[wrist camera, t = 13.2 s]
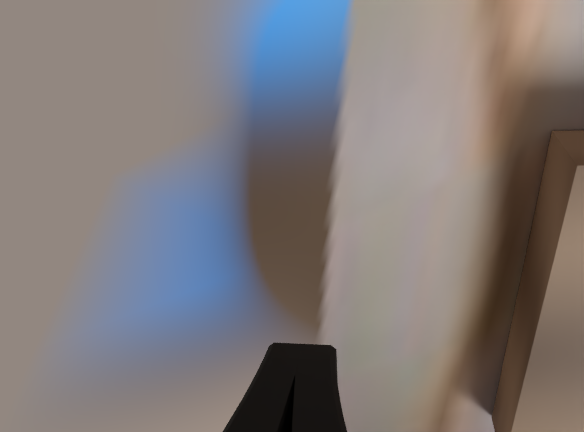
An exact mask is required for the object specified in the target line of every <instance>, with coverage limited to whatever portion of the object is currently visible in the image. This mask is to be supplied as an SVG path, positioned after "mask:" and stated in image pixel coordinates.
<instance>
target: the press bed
mask: <svg viewBox="0 0 584 432" xmlns="http://www.w3.org/2000/svg"><path fill="white" fill-rule="evenodd" d="M492 421H493V425H494V429H495V432H584V130H575V131H552V133H551V138H550V143H549V147H548V152H547V157H546V162H545V166H544V171H543V176H542V181H541V185H540V190H539V195H538V200H537V204H536V209H535V214H534V219H533V223H532V228H531V233H530V238H529V242H528V247H527V252H526V257H525V261H524V266H523V271H522V276H521V281H520V285H519V290H518V295H517V300H516V304H515V309H514V314H513V319H512V323H511V328H510V333H509V338H508V342H507V347H506V352H505V357H504V361H503V366H502V371H501V376H500V380H499V385H498V390H497V395H496V399H495V404H494V409H493V414H492Z"/></svg>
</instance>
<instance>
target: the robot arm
mask: <svg viewBox="0 0 584 432" xmlns="http://www.w3.org/2000/svg"><path fill="white" fill-rule="evenodd" d="M223 432H347V430H346V426H345V422H344V417H343V413H342V408H341V403H340V397H339V391H338V383H337V356H336V349H335V348H334V347H332V346H331V345H314V344H290V343H273V344H272V345H270V346H269V348H268V350H267V352H266V355H265V357H264V359H263V361H262V363H261V365H260V367H259V369H258V371H257V373H256V375H255V377H254V379H253V381H252V383H251V385H250V386H249V388H248V390H247V392H246V393H245V395H244V397H243V399H242V401H241V402H240V404H239V406H238V407H237V409H236V411H235V412H234V414H233V416H232V417H231V419H230V421H229V422H228V424H227V425H226V427H225V429H224V431H223Z"/></svg>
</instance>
